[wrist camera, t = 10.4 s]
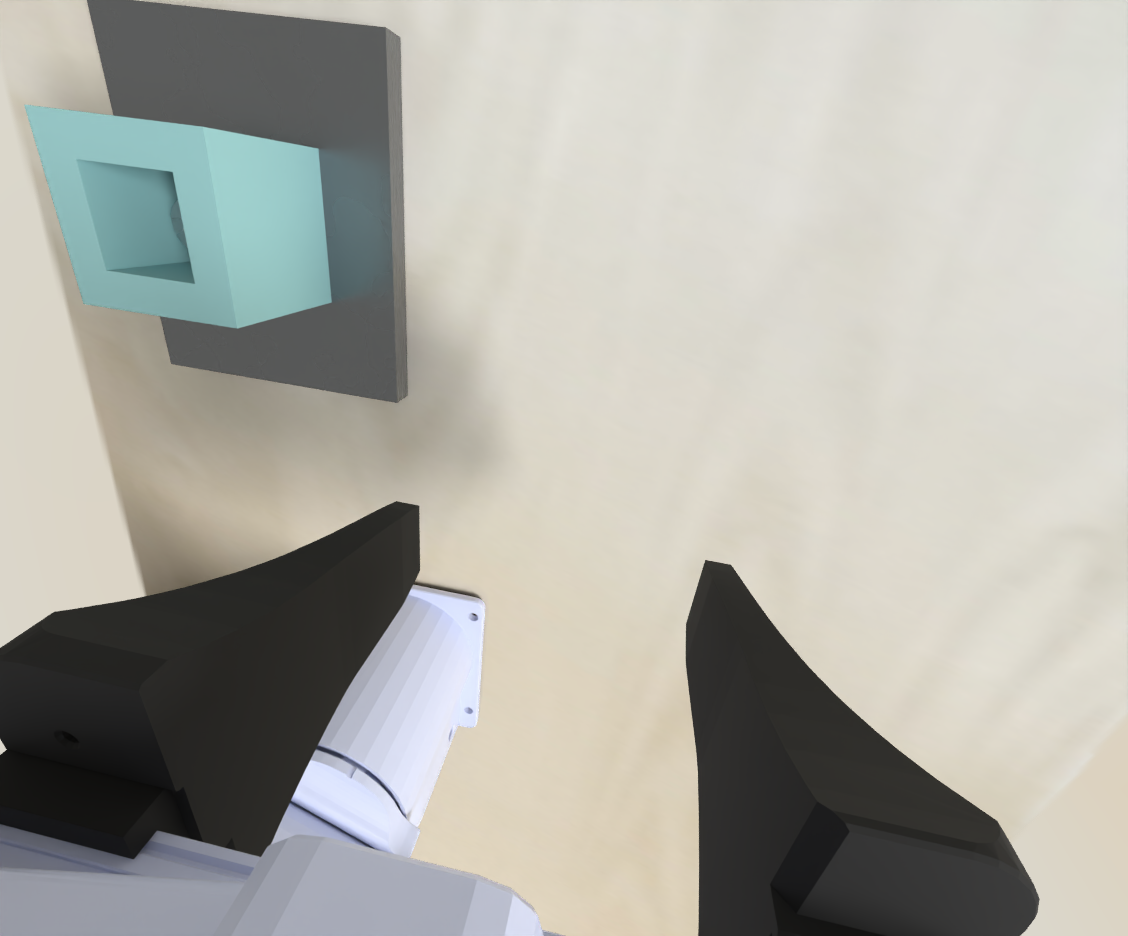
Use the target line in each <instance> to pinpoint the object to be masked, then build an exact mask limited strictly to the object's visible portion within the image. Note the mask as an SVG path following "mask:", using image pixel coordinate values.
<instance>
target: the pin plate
mask: <svg viewBox="0 0 1128 936" xmlns="http://www.w3.org/2000/svg"><path fill="white" fill-rule="evenodd" d="M87 2H88V7H89V11H90V15H91V20H92V24H93V28H94V33H95V37H96V41H97V46H98V50H99V54H100V58H101V63H102V67H103V71H104V76H105V80H106V84H107V89H108V93H109V97H110V102H111V106H112V110H113V114H114V116H120V117H128V118H136V119H144V120H153V121H161V122H169V123H177V124H185V125H193V126H201V127H207V128H212V129H217V130H223V131H228V132H233V133H239V134H244V135H249V136H254V137H260V138H265V139H270V140H275V141H281V142H286V143H291V144H297V145H302V146H307V147H312V148H318V151H319V162H320V174H321V185H322V197H323V208H324V220H325V231H326V243H327V254H328V266H329V277H330V289H331V300H332V302H331V303H328V304H324V305H320V306H317V307H313V308H310V309H306V310H302V311H299V312H295V313H292V314H288V315H284V316H281V317H277V318H274V319H270V320H266V321H263V322H259V323H256V324H252V325H248V326H245V327H241V328H238V329H237V328H231V327H225V326H218V325H212V324H206V323H200V322H193V321H187V320H181V319H175V318H168V317H162V316H160V317H161V321H162V326H163V330H164V334H165V338H166V343H167V347H168V351H169V356H170V360H171V364H175V365H181V366H187V367H193V368H198V369H204V370H210V371H216V372H221V373H227V374H233V375H239V376H245V377H250V378H256V379H262V380H268V381H274V382H279V383H285V384H291V385H297V386H303V387H308V388H314V389H320V390H326V391H332V392H337V393H343V394H349V395H355V396H361V397H366V398H372V399H378V400H384V401H390V402H395V403H397V402H399V401H400V400H402V399H403V398H404V397H406V396H407V395H408V394H407V345H406V296H405V247H404V199H403V150H402V101H401V52H400V37H399V36H397V35H396V34H394V33H393V32H392V31H390V30H389V29H387V28H386V27H377V26H367V25H358V24H349V23H339V22H330V21H321V20H311V19H302V18H293V17H283V16H274V15H265V14H255V13H246V12H237V11H227V10H218V9H209V8H199V7H190V6H181V5H171V4H162V3H153V2H143V1H134V0H87ZM171 221H172V225H173V228H174V231H175V233H176V235H177V236H178V238H179V239H180V241H181V242H182V243H183V244H184V245H185V246H186V247H187V242H186V237H185V232H184V227H183V222H182V217H181V212H180V207H179V202H178V200H177V201H176V202H175V203H174V205H173V207H172V211H171ZM187 248H188V247H187Z"/></svg>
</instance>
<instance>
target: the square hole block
mask: <svg viewBox="0 0 1128 936" xmlns="http://www.w3.org/2000/svg"><path fill="white" fill-rule="evenodd" d="M25 109H26V112H27V115H28V119H29V122H30V125H31V129H32V132H33V135H34V139H35V142H36V146H37V149H38V152H39V156H40V159H41V162H42V166H43V169H44V172H45V176H46V179H47V182H48V186H49V189H50V192H51V196H52V199H53V203H54V206H55V209H56V213H57V216H58V219H59V223H60V226H61V229H62V233H63V236H64V239H65V243H66V246H67V250H68V253H69V256H70V260H71V263H72V266H73V270H74V273H75V276H76V280H77V283H78V286H79V290H80V293H81V296H82V300H83V303H84V304H87V305H93V306H100V307H106V308H112V309H118V310H125V311H131V312H137V313H143V314H150V315H156V316H162V317H168V318H175V319H181V320H187V321H193V322H200V323H206V324H212V325H218V326H225V327H231V328H237V329H238V328H241V327H245V326H248V325H252V324H256V323H259V322H263V321H266V320H270V319H274V318H277V317H281V316H284V315H288V314H292V313H295V312H299V311H302V310H306V309H310V308H313V307H317V306H320V305H324V304H328V303H331V302H332V300H331V289H330V277H329V266H328V254H327V243H326V231H325V220H324V208H323V197H322V185H321V174H320V162H319V151H318V148H312V147H307V146H302V145H297V144H291V143H286V142H281V141H275V140H270V139H265V138H260V137H254V136H249V135H244V134H239V133H233V132H228V131H223V130H217V129H212V128H207V127H201V126H193V125H185V124H177V123H169V122H161V121H153V120H144V119H136V118H128V117H120V116H112V115H104V114H96V113H88V112H80V111H72V110H64V109H56V108H48V107H40V106H31V105H25ZM177 200H178V202H179V207H180V212H181V217H182V222H183V227H184V232H185V237H186V242H187V247H188V248H187V247H186V246H185V245H184V244H183V243H182V242H181V241H180V239H179V238H178V236H177V235H176V233H175V231H174V228H173V225H172V221H171V211H172V207H173V205H174V203H175V202H176V201H177Z"/></svg>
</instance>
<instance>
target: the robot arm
mask: <svg viewBox="0 0 1128 936" xmlns="http://www.w3.org/2000/svg"><path fill="white" fill-rule="evenodd" d="M419 571H420V534H419V506H418V505H413V504H407V503H402V502H397V501H396V502H394V503H392V504H389V505H387V506H385V507H383V508H381V509H379V510H377V511H375V512H373V513H371V514H369V515H367V516H365V517H363V518H361V519H360V520H358V521H356V522H354V523H352V524H350V525H348V526H346V527H344V528H342V529H340V530H338V531H336V532H334V533H332V534H330V535H328V536H326V537H323V538H321V539H319V540H317V541H314V542H312V543H310V544H308V545H306V546H303V547H301V548H299V549H297V550H295V551H292V552H290V553H288V554H285V555H283V556H280V557H278V558H275V559H273V560H270V561H268V562H265V563H262V564H259V565H256V566H254V567H251V568H248V569H245V570H242V571H239V572H236V573H233V574H230V575H226V576H223V577H219V578H216V579H212V580H209V581H206V582H202V583H199V584H195V585H192V586H188V587H184V588H180V589H176V590H172V591H168V592H164V593H159V594H154V595H150V596H145V597H141V598H136V599H131V600H126V601H120V602H114V603H108V604H102V605H96V606H90V607H84V608H78V609H72V610H65V611H58V612H54V613H52V614H51V615H49V616H47V617H46V618H45V619H43V620H41V621H40V622H38V623H37V624H35V625H34V626H32V627H31V628H29V629H28V630H26V631H25V632H23V633H22V634H20V635H19V636H17V637H16V638H14V639H13V640H11V641H10V642H9V643H7V644H6V645H4V646H3V647H1V648H0V739H1V741H2V743H3V744H4V746H5V747H6V749H7V750H6V751H5V752H3V753H2V754H1V755H0V936H564V935H560V934H556V933H553V932H549V931H545V930H542V928H541V925H540V922H539V918H538V915H537V913H536V912H535V910H534V908H533V906H531V905H530V904H529V903H528V902H527V901H525V900H524V899H523V898H522V897H521V896H520V895H518V894H517V893H516V892H515V891H514V890H512V889H511V888H509V887H507V886H504V885H502V884H499V883H497V882H494V881H492V880H489V879H487V878H484V877H482V876H479V875H475V874H472V873H468V872H464V871H460V870H456V869H452V868H448V867H444V866H440V865H436V864H432V863H428V862H424V861H420V860H416V859H412V858H410V857H411V854H412V852H413V849H414V846H415V844H416V841H417V839H418V836H419V833H420V829H419V828H418V826H419V824H420V822H421V820H422V817H423V815H424V812H425V810H426V807H427V805H428V802H429V799H430V797H431V794H432V792H433V789H434V786H435V784H436V781H437V779H438V776H439V773H440V771H441V768H442V766H443V763H444V760H445V758H446V755H447V753H448V750H449V747H450V745H451V742H452V740H453V737H454V734H455V732H456V729H457V727H458V725H459V726H464V727H469V728H471V727H474V726H476V724H477V721H478V713H479V697H480V682H481V666H482V651H483V635H484V619H485V604H484V602H483V601H482V600H481V599H479V598H476V597H472V596H467V595H462V594H457V593H452V592H447V591H442V590H437V589H433V588H428V587H423V586H418V585H413V584H414V582H415V580H416V578H417V575H418V573H419ZM472 613H474V614H476V615H477V616H475V615H473V614H472ZM686 668H687V677H688V686H689V695H690V703H691V711H692V719H693V727H694V735H695V744H696V752H697V765H698V795H699V932H698V936H1020V935H1021V934H1022V933H1023V932H1025V930H1026V929H1027V928H1028V927H1029V925H1030V924H1031V923H1032V921H1033V920H1034V919H1035V917H1036V915H1037V912H1038V905H1039V897H1038V894H1037V892H1036V889H1035V887H1034V884H1033V883H1032V881H1031V879H1030V877H1029V875H1028V874H1027V872H1026V870H1025V868H1024V866H1023V865H1022V863H1021V861H1020V860H1019V858H1018V856H1017V854H1016V852H1015V850H1014V849H1013V847H1012V845H1011V843H1010V842H1009V840H1008V838H1007V836H1006V835H1005V833H1004V831H1003V830H1002V828H1001V827H1000V825H999V823H998V822H997V821H996V820H995V819H993V818H992V817H991V816H989V815H988V814H986V813H985V812H983V811H982V810H980V809H979V808H978V807H976V806H975V805H973V804H972V803H970V802H969V801H967V800H966V799H964V798H963V797H962V796H960V795H959V794H957V793H956V792H954V791H953V790H951V789H950V788H949V787H947V786H946V785H944V784H943V783H941V782H940V781H938V780H937V779H936V778H934V777H933V776H932V775H930V774H929V773H928V772H926V771H925V770H924V769H922V768H921V767H920V766H919V765H917V764H916V763H915V762H913V761H912V760H911V759H909V758H908V757H907V756H906V755H904V754H903V753H902V752H900V751H899V750H898V749H897V748H895V747H894V746H893V745H892V744H891V743H889V742H888V741H887V740H886V739H884V738H883V737H882V736H881V735H880V734H878V733H877V732H876V731H875V730H874V729H873V728H872V727H870V726H869V725H868V724H867V723H866V722H865V721H864V720H862V719H861V718H860V717H859V716H858V715H857V714H856V713H855V712H853V711H852V710H851V709H850V708H849V707H848V706H847V705H846V704H845V703H844V702H843V701H842V700H841V699H840V698H838V697H837V696H836V695H835V694H834V693H833V692H832V691H831V690H830V688H829V687H828V686H827V685H826V684H825V683H824V682H823V681H822V680H821V679H820V678H819V677H818V676H817V675H816V674H815V673H814V672H813V671H812V670H811V669H810V668H809V667H808V666H807V664H806V663H805V662H804V661H803V660H802V659H801V658H800V656H799V655H798V654H797V653H796V652H795V651H794V649H793V648H792V647H791V646H790V645H789V643H788V642H787V641H786V640H785V639H784V637H783V636H782V635H781V634H780V632H779V631H778V630H777V629H776V627H775V626H774V625H773V623H772V622H771V621H770V619H769V618H768V617H767V615H766V614H765V613H764V611H763V610H762V609H761V607H760V606H759V604H758V603H757V602H756V600H755V599H754V597H753V596H752V595H751V593H750V592H749V590H748V589H747V587H746V586H745V584H744V583H743V581H742V580H741V579H740V577H739V576H738V574H737V573H736V571H735V570H734V568H733V567H732V566H731V565H729V564H723V563H718V562H713V561H708V560H705V563H704V566H703V570H702V573H701V576H700V580H699V583H698V586H697V590H696V593H695V596H694V600H693V603H692V606H691V610H690V613H689V616H688V620H687V623H686Z"/></svg>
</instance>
